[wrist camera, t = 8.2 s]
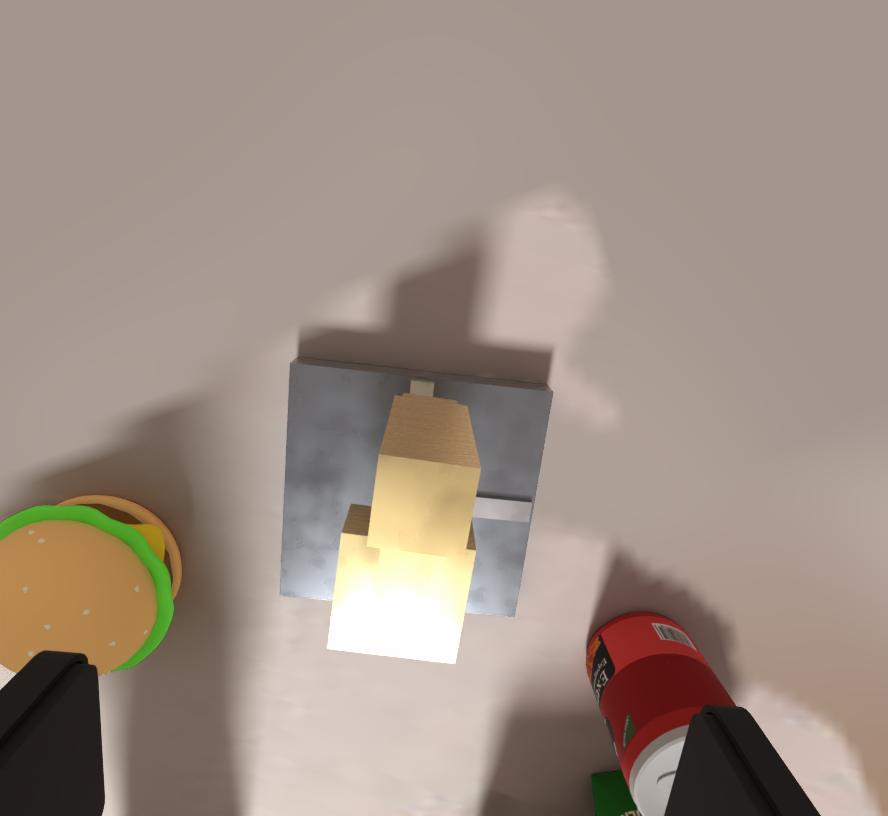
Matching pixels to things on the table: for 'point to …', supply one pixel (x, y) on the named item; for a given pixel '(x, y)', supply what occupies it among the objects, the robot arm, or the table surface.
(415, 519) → the wooden zigzag joint
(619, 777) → the milk carton
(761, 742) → the robot arm
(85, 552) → the hamburger
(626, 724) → the canned food
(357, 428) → the grey slotted plate
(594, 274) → the table surface
